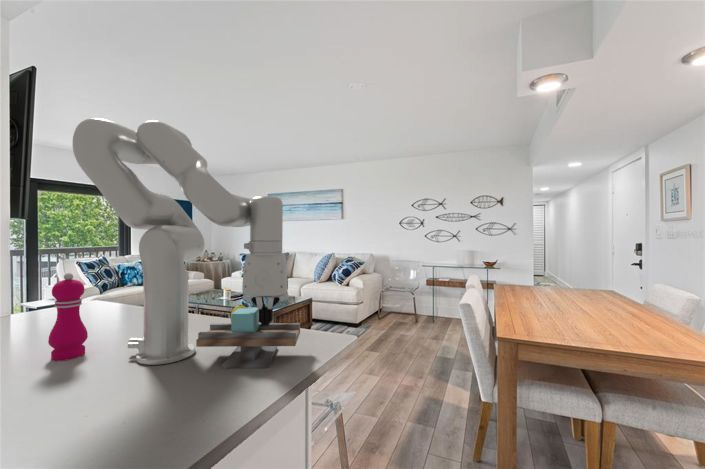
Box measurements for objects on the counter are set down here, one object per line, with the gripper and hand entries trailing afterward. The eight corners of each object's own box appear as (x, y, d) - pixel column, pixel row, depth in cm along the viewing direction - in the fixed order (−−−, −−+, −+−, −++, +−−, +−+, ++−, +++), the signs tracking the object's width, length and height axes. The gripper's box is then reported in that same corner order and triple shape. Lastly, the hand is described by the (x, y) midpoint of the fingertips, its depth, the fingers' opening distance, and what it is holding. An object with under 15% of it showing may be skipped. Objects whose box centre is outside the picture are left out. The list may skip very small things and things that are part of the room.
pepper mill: (94, 353, 82) (94, 272, 82) (58, 364, 76) (58, 275, 76) (77, 348, 85) (77, 270, 85) (41, 358, 79) (41, 273, 79)
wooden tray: (194, 368, 74) (194, 336, 74) (214, 349, 86) (214, 321, 86) (294, 367, 75) (294, 335, 75) (300, 348, 87) (300, 321, 87)
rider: (231, 335, 78) (231, 313, 78) (238, 328, 83) (238, 308, 83) (253, 335, 78) (253, 313, 78) (258, 328, 83) (258, 308, 83)
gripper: (229, 248, 76) (229, 329, 77) (295, 249, 77) (295, 329, 77) (239, 247, 84) (238, 320, 84) (299, 247, 84) (298, 320, 85)
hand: (265, 324), depth 81 cm, fingers closed
